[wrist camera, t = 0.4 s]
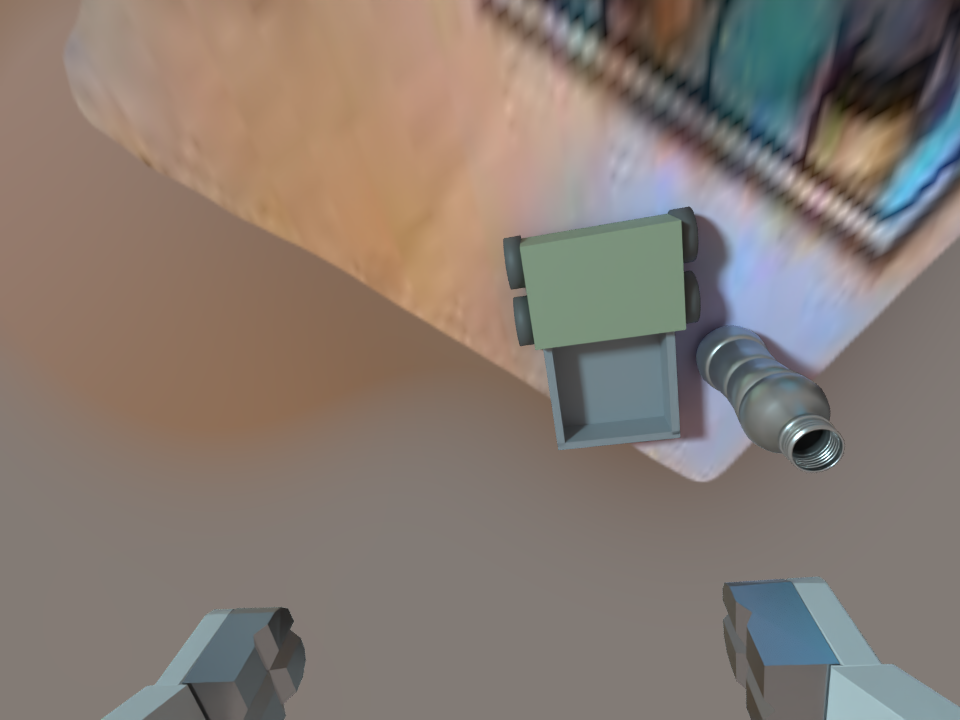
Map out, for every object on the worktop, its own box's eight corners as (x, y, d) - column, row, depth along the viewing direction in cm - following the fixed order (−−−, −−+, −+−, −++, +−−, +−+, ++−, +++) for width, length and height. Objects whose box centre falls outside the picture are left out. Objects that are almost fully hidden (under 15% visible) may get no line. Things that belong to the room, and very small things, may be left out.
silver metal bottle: (685, 377, 56) (758, 488, 38) (696, 317, 54) (779, 404, 35) (748, 380, 55) (852, 495, 37) (761, 320, 53) (881, 410, 34)
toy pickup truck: (505, 234, 52) (501, 244, 47) (682, 204, 50) (700, 210, 44) (537, 431, 60) (537, 459, 55) (691, 414, 58) (707, 442, 52)
